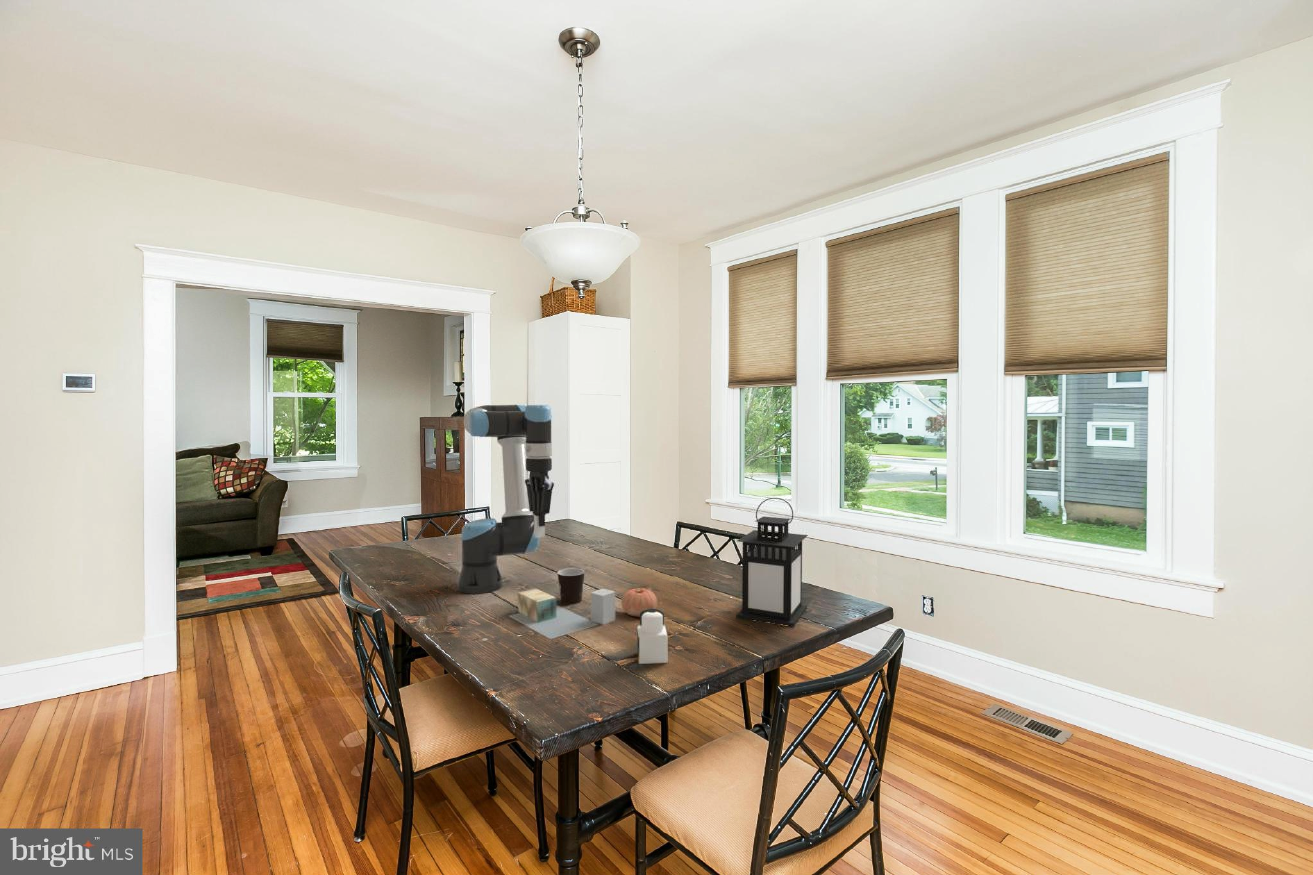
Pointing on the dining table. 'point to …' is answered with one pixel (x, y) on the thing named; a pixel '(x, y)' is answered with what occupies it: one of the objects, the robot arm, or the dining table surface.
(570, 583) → the coffee mug
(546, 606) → the birch block
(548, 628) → the slate mat
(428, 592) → the dining table surface
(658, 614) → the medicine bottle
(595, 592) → the grey painted block
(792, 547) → the lantern
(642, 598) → the orange ribbed round piece
